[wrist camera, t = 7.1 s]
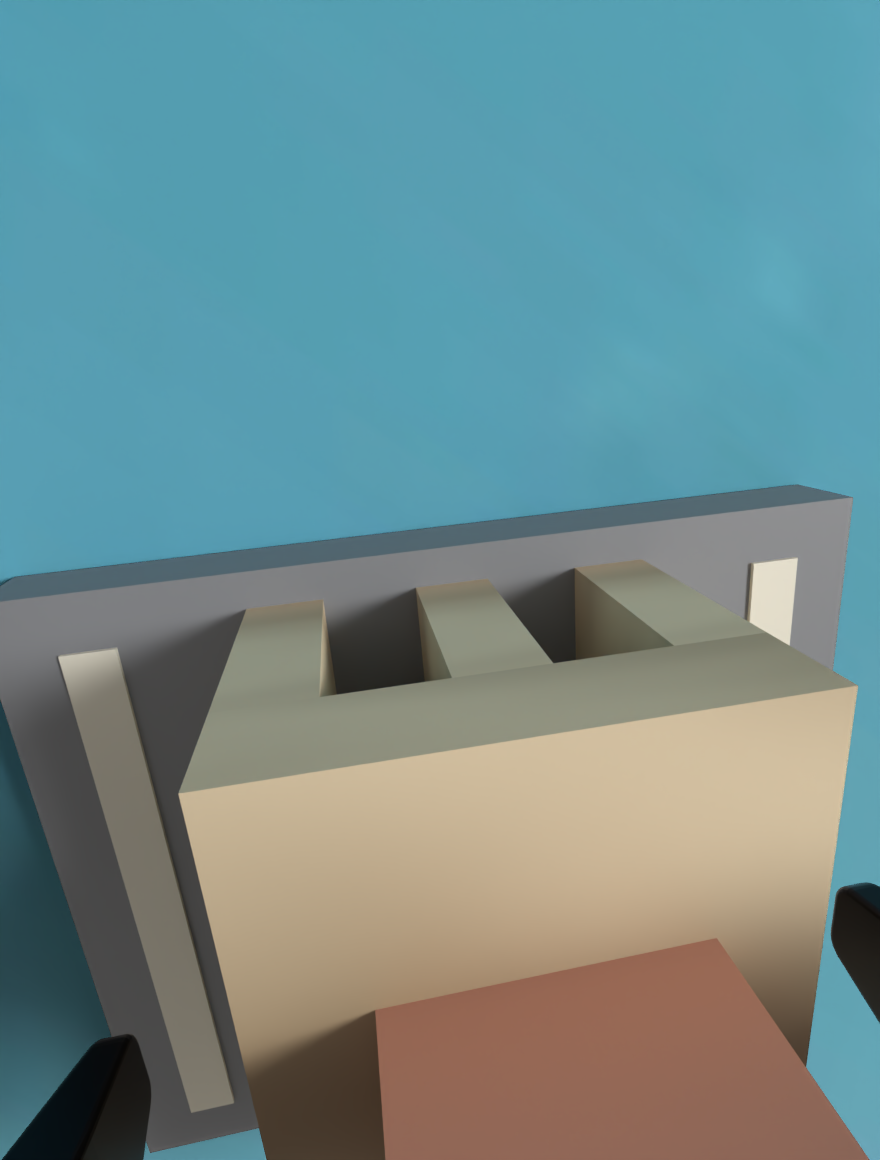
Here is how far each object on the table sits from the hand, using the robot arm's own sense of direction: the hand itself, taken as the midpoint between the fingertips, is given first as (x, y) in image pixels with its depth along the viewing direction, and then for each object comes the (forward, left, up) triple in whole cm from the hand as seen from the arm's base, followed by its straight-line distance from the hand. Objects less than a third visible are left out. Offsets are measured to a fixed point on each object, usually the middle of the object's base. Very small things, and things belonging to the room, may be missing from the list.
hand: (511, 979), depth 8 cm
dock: (0, 0, -4) cm, 4 cm away
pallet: (0, 0, -2) cm, 2 cm away
